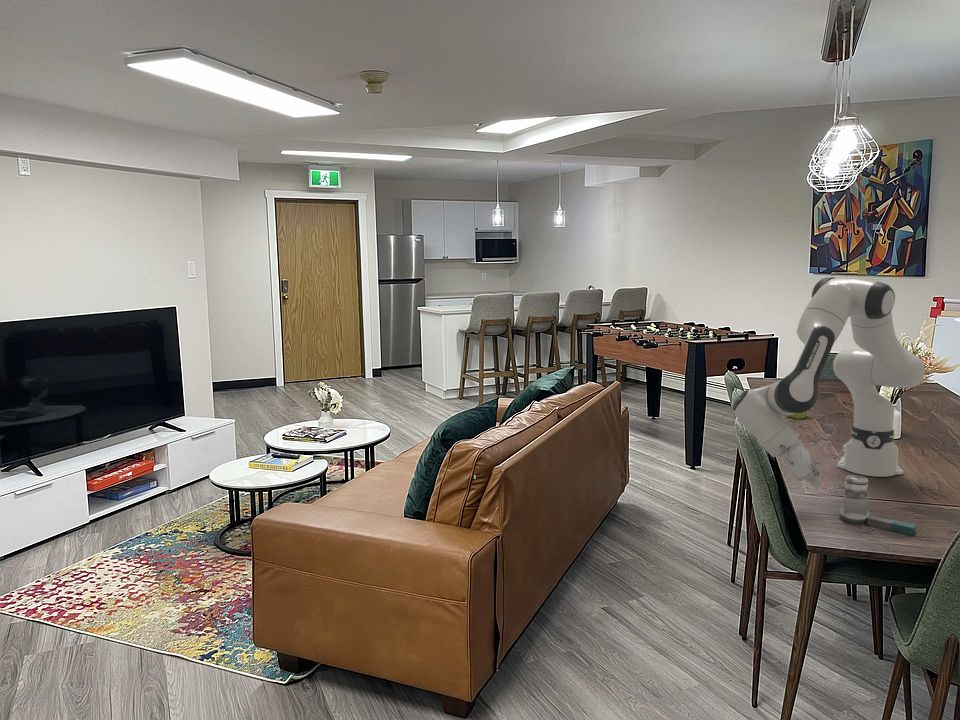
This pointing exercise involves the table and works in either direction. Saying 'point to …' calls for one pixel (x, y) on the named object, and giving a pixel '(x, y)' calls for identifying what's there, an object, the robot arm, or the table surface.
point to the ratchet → (878, 522)
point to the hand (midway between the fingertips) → (818, 481)
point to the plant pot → (799, 415)
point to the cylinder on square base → (855, 495)
